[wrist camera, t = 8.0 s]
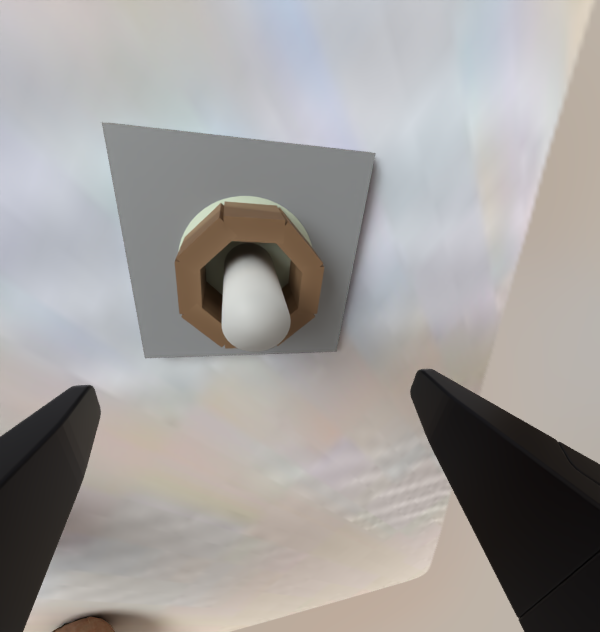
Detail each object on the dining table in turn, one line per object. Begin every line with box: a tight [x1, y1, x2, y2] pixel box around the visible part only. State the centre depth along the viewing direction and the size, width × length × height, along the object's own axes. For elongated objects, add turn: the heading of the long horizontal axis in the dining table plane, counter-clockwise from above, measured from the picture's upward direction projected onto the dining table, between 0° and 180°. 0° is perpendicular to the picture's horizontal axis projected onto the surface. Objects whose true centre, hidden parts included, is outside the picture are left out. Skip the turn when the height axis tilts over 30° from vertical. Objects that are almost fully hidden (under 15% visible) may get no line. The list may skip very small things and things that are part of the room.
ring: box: [174, 201, 324, 349], centre depth 15 cm, size 6×6×3 cm
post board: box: [102, 123, 375, 358], centre depth 15 cm, size 12×12×7 cm
